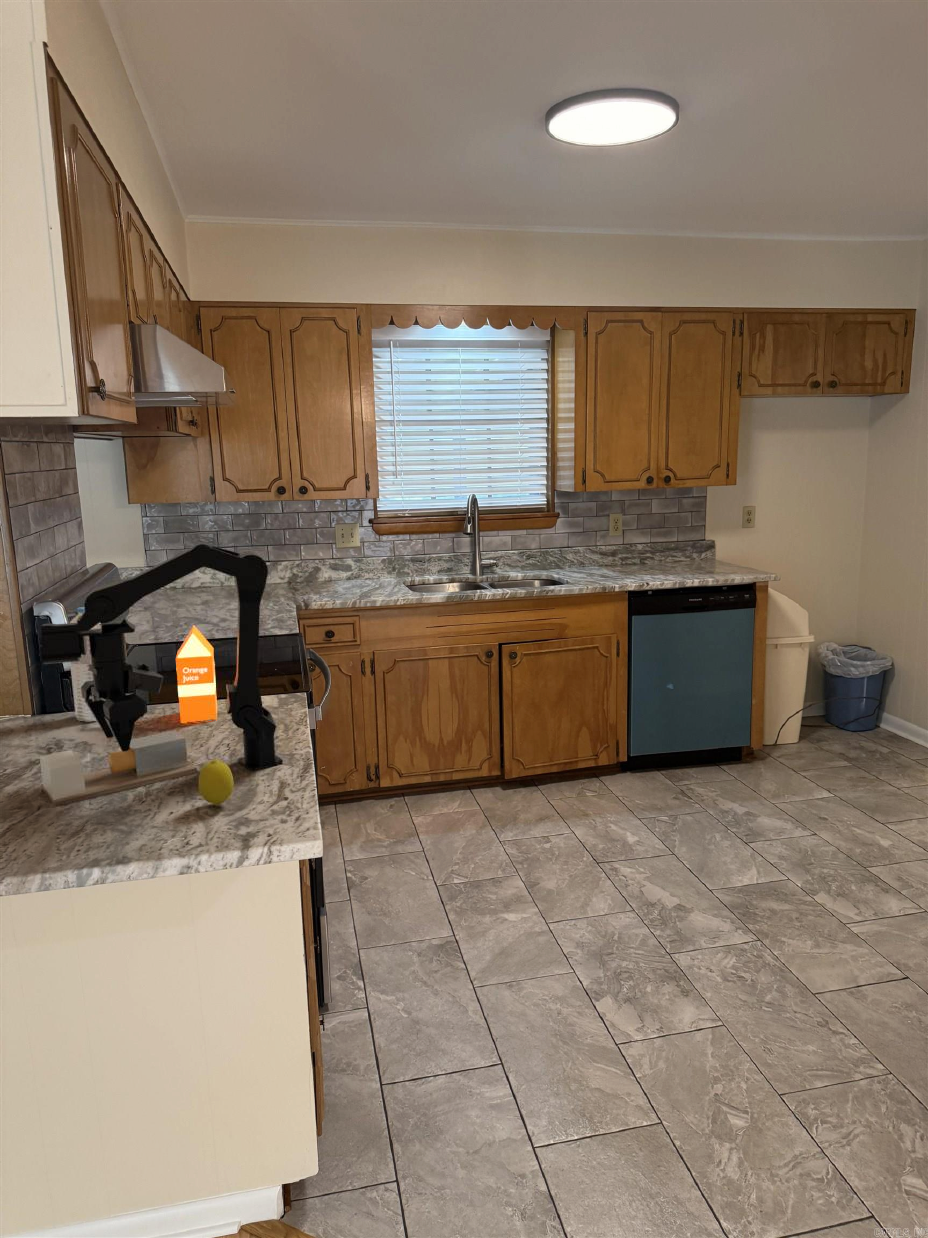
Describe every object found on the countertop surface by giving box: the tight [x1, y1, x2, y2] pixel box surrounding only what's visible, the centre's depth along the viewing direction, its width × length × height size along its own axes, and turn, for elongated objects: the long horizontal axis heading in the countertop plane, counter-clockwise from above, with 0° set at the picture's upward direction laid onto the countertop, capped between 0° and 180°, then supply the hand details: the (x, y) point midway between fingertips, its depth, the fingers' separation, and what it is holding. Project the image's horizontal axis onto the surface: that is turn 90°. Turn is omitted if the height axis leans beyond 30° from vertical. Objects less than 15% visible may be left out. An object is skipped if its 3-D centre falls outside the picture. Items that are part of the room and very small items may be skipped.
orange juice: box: [175, 625, 218, 724], centre depth 184 cm, size 8×9×20 cm
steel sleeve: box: [129, 730, 188, 778], centre depth 152 cm, size 6×9×5 cm, turn 128°
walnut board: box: [41, 760, 198, 807], centre depth 149 cm, size 10×24×1 cm, turn 128°
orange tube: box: [107, 746, 188, 773], centre depth 151 cm, size 4×13×4 cm, turn 128°
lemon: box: [197, 759, 235, 807], centre depth 137 cm, size 6×6×8 cm
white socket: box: [39, 749, 86, 800], centre depth 143 cm, size 8×5×5 cm, turn 38°
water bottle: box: [69, 606, 102, 723], centre depth 183 cm, size 7×7×25 cm
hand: (117, 744), depth 148 cm, fingers open, 9 cm apart
